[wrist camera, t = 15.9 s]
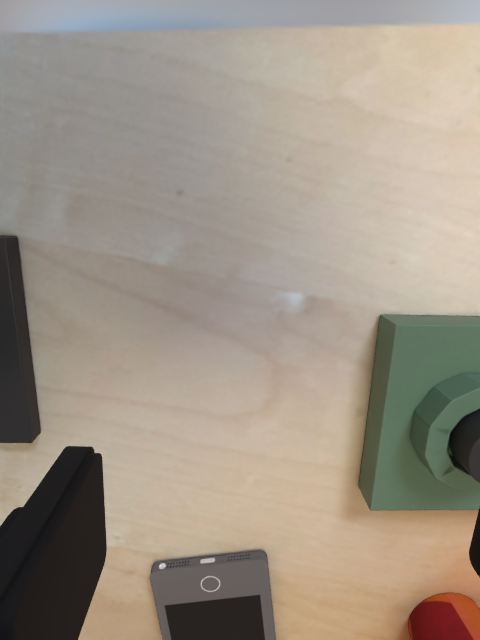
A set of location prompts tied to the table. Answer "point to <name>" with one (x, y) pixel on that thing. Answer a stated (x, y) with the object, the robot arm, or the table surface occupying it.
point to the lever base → (15, 353)
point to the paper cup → (445, 618)
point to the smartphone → (214, 598)
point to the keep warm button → (467, 444)
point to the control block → (420, 413)
